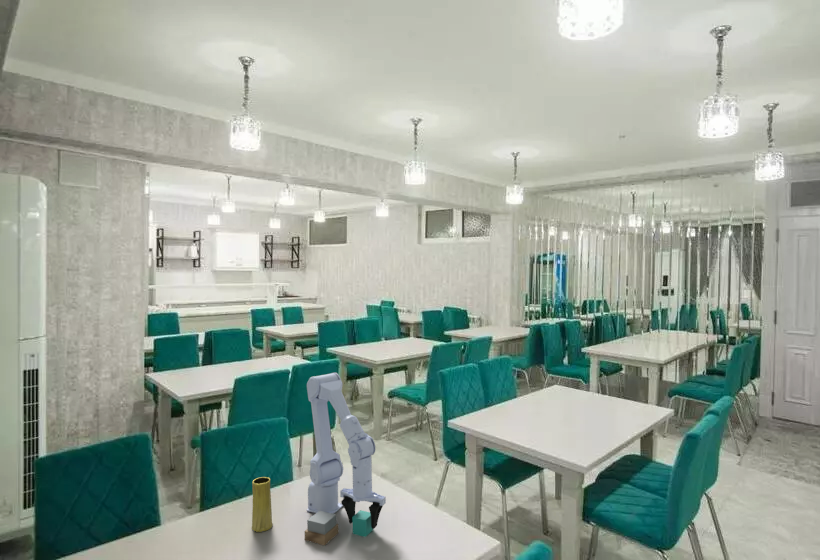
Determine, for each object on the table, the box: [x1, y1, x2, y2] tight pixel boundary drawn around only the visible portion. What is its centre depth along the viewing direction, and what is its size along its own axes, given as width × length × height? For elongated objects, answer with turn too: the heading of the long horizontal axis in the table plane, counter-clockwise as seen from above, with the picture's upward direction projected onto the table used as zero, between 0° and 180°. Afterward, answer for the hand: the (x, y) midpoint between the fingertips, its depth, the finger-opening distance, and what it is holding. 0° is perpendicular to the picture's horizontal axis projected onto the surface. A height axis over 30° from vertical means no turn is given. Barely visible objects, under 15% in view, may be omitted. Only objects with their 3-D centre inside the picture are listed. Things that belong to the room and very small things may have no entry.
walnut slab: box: [304, 523, 340, 546], centre depth 136 cm, size 7×7×3 cm
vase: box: [251, 476, 273, 533], centre depth 142 cm, size 6×6×14 cm
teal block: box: [351, 509, 374, 538], centre depth 139 cm, size 4×4×5 cm
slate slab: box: [306, 511, 338, 535], centre depth 136 cm, size 6×6×3 cm
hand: (363, 524), depth 139 cm, fingers open, 7 cm apart
